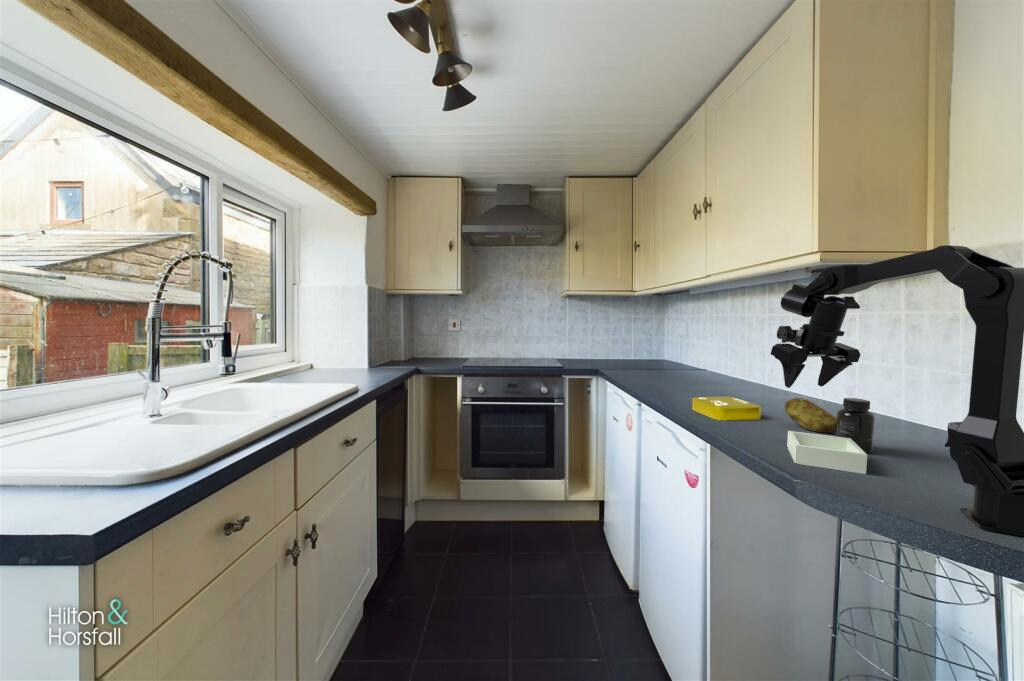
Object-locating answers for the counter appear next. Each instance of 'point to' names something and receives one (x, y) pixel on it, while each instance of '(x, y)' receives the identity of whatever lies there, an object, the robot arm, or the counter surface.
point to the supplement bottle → (856, 423)
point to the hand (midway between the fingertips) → (803, 386)
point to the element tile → (726, 408)
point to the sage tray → (826, 452)
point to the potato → (810, 415)
